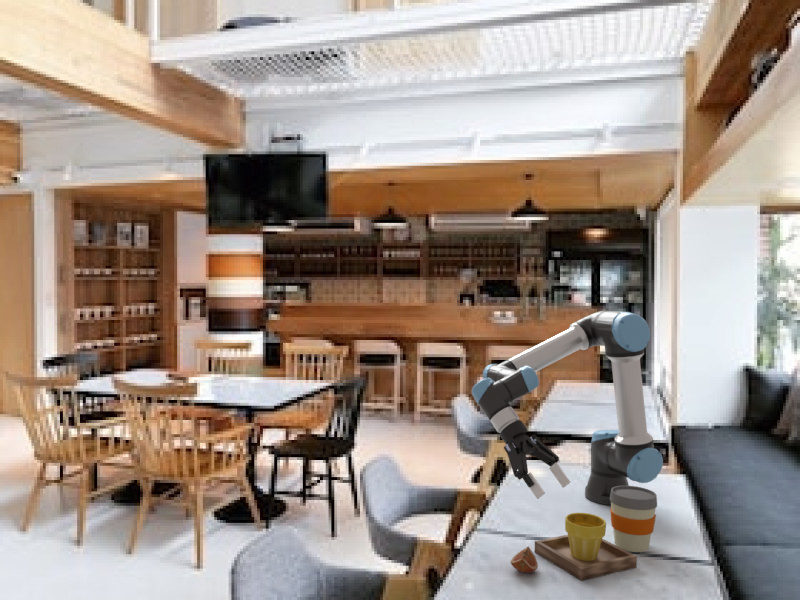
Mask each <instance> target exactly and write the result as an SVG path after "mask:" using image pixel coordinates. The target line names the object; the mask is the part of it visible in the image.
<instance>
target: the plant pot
mask: <svg viewBox="0 0 800 600" xmlns="http://www.w3.org/2000/svg"><path fill="white" fill-rule="evenodd" d="M606 529H607V522H606V520H605V519H604V518H602V517H601V516H599V515H595V514H592V513H587V512H573V513H569V514H567V515H566V516H565V518H564V530H565V531H566V533H567V535H568V538H569V544H570V550H571V555H572V556H573V557H574V558H576V559H579V560H583V561H592V560H595V559H596V558H597V555H598V552H599V548H600V544H601V541H602V539H604V538H605V536H606V531H607V530H606Z"/></svg>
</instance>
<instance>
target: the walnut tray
mask: <svg viewBox="0 0 800 600" xmlns="http://www.w3.org/2000/svg"><path fill="white" fill-rule="evenodd" d="M534 553H535V554H537V555H539V556H540V557H542V558H543V559H545V560H546V561H548V562H550V563H552V564H553V565H554V566H556V567H558V568H560V569H561V570H562V571H565V572H566V573H568V574H569V575H572V576H573V577H574V578H576V579H578V580H579V581H581V582H583V581H587V580H591V579H596V578H600V577H604V576H607V575H608V576H609V575H611V574H616V573H620V572H625V571H629V570H633V569H636V568H637V567H638V565H637V564H638V556H637V555H635V554H634V553H633V552H631V551H627V550H624V549H622V548H620V547H618V546H616V545H615V543H612V542H610V541H608V540H606V539H604V538H602V541H601V544H600V548H599V552H598V555H597V558H596V559H595V560H592V561H583V560H579V559H576V558H574V557H573V556H572V555H571V550H570V544H569V538H568V534H565V535H559V536H554V537H549V538H545V539H539V540H534Z"/></svg>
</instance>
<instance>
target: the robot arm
mask: <svg viewBox="0 0 800 600" xmlns="http://www.w3.org/2000/svg"><path fill="white" fill-rule="evenodd" d="M650 340H651V329H650V326H649V324H648V322H647V321H646V320H645V319H644V317H642V316H641V315H639V314H637V313H633V312H630V311H619V310H618V311H616V310H607V309H606V310H599V311H596V312H594V313H591V314H589V315H586V316H584V317H582V318H581V319H578V320H576V321H574V322H573V323H571V324H570V325H569V327H568V328H567V329H566V330H563V331H562V332H560V333H558V334H556V335H554V336H551V337H550V338H548V339H546V340H544V341H542V342H540V343H538V344H536V345H534V346H532V347H531V348H528V349H526V350H524V351H522V352H521V353H519V354H517V355H514V356H513V357H510V358H509V359H507V360H504V361H502V362H501V363H499V364H498V363H491V364H488V365H487V366H485V368H483V372H482V379H481V380H479V381H478V382H476V384H474V385H473V386H472V388H471V395H472V397H473V399H474V400H475V402H476V403H477V405H478V406H479V407H480V409H481V410H482V411H483V413H484V415H485V416H486V417H487V418H488V420H489V421H490V422H491V424H492V426H493V428H494V429H495V430H496V432H497V433H499V436H500V438H501V439H502V441H503V442H504V444H505V446H504V447H503V449H504V451H505V452H506V455H507V456H508V457H507V458H508V461H509V464H510V467H511V470H512V472H513V476H514V477H515V478H517V479H518V480H519V481H521V480H523V481H524V483H525V484H526V486H527V487H528V488H529V489H530V491H531V492H532V493H533V495H534V496H535V498H536V500H539V499H540V498H541V497H543V496H544V495H545V494H546V491H544V489H543V488H542V486H541V485H540V484H539V482H538V481H537V479H536V477H535V476H534V475H533V474H532V472H529V469H528V462H527V461H528V460H527V456H534V457H535V458H537V459H538V460H540V461H542V462H543V463H544V464H546V465H548V466H549V468H548V469H549V470H550V472H551V473H552V474H553V475H554V477H555V479H556V480H557V481H558V483H559V484H560V486H561V487H562V489H563V488H565V487H567V486H568V485H570V483H571V480H570V479H569V477H567V475H566V474H565V472H564V470H563V469H562V468H561V466H560V465H559V463H558V462H559V461H560V457H559V456H558V455H557V454H556V452H554V451H552V450H551V448H549V447H548V446H547V445H546V444H544V443H543V442H542V441H541V440H540V439H539V437H538V436H537V435H536V434H532V435H531V436H530V437H529V436H528V434H527V432H528V428H527V427H526V425H525V423H523V421H522V420H520V416H519V415H518V414H517V412H516V411H515V409H514V408H513V407H512V405H511V404H512V403H513V402H514V401H517V400H518V399H520V398H522V397H524V396H525V395H528V394H530V393H531V392H532V391H534V390H535V389H537V388H538V387H539V385H540V379H539V377H538V375H537V373H536V372H538V371H540V370H542V369H544V368H546V367H549V366H550V365H553V364H554V363H556V362H558V361H559V360H562V359H564V358H565V357H568V356H569V355H572V354H573V353H575V352H578V351H580V350H582V351H585V350H587V349H590V348H593V347H598V346H601V347H602V346H603V347H604V351H605V352H604V354H605V357H606V358H608V360H610V361H611V371H612V379H613V380H612V382H613V392H614V400H615V409H616V410H615V411H616V420H617V428H618V429H600V430H595V431H593V433H592V435H591V436H592V438H591V451H590V453H591V454H590V455H591V456H590V459H591V460H590V475H589V478H588V481H587V484H586V486H585V489H584V496H585V498H586V499H588V500H589V501H592V502H594V503H596V504H597V503H598V504H602V505H608V506H611V501H610V493H611V489H612V488H613V487H616V486H630V484H629V481H628V479H629V480H631V482H632V481H633V482H636V483H639V484H648V483H650V482H652V481H653V480H655V479H657V477H658V475H659V474H660V473H661V471H662V469H663V465H664V459H663V455H662V454H661V452H660V451H659V450H658V449H657V448H654V446H655V445H654V437H653V436H652V435H651V434H650V433H649V432H648V427H647V426H648V425H647V420H646V419H647V418H646V417H647V416H646V407H645V399H644V386H643V377H642V368H641V358H642V357H643V356H644V355H645V348H647V345H648V343H649V342H650Z"/></svg>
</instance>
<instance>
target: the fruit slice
mask: <svg viewBox="0 0 800 600" xmlns="http://www.w3.org/2000/svg"><path fill="white" fill-rule="evenodd" d="M510 565H511V566H512V567H513V568H514V569H516V570H517V571H519V572H522V573H527V574H528V573H533V572H535V571H536V570H538V568H539V564H538V561H537V558H536V555H535V554H534V552H533V551H532V549H531V548H530V547H529V546H526V547H525V548H523V549H522V550H520V551H519V552H517V553H516V554H515V555H514V556H513V557H512V559H511V560H510Z"/></svg>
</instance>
